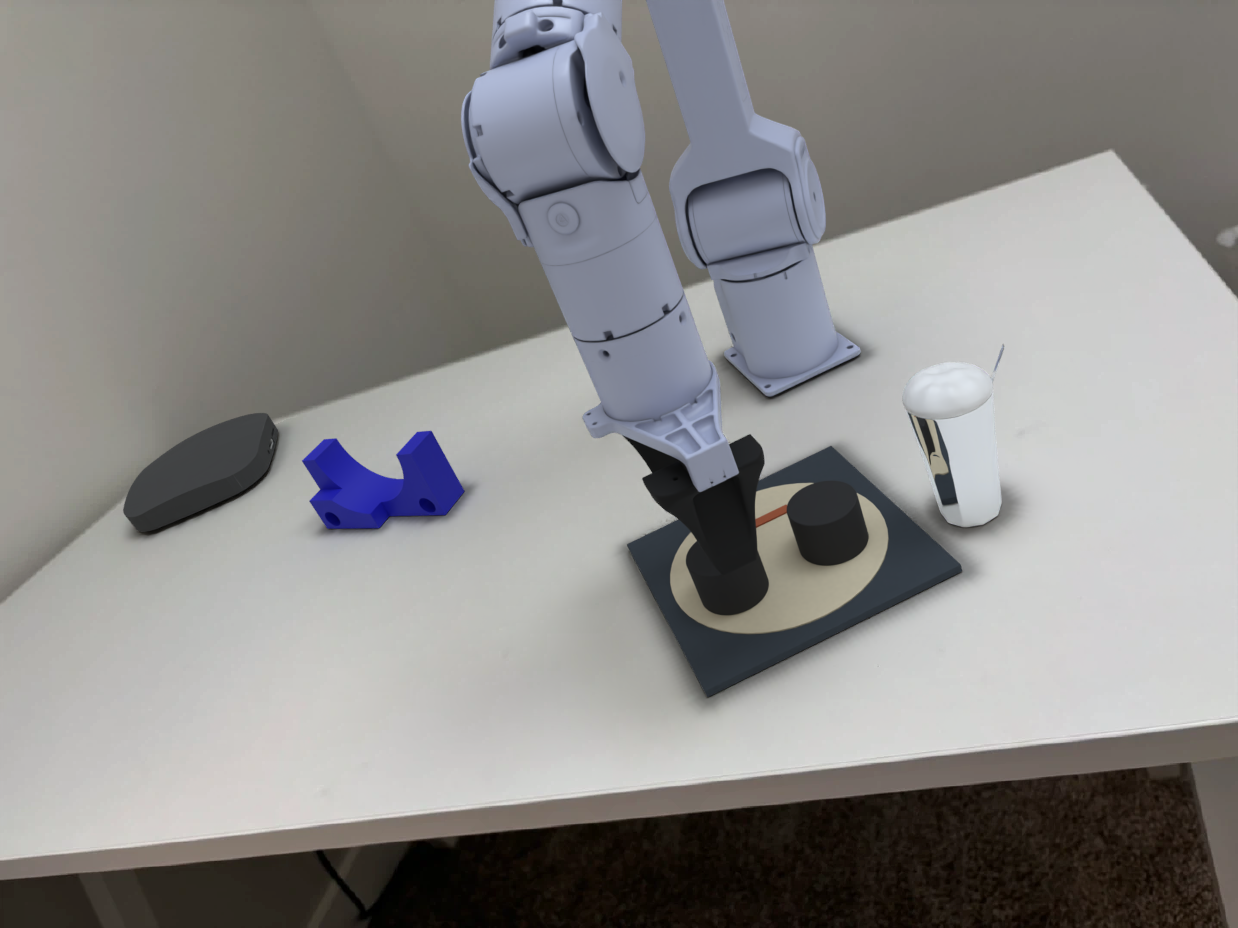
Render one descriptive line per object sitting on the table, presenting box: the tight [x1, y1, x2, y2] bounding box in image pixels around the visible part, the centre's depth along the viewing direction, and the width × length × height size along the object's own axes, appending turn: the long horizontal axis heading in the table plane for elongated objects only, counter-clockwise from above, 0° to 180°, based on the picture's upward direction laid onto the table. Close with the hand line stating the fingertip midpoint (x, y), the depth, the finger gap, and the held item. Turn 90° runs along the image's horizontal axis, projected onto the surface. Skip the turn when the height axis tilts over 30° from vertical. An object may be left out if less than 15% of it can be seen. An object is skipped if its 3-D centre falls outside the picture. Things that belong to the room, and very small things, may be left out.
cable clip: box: [301, 430, 465, 530], centre depth 77 cm, size 12×4×6 cm, turn 65°
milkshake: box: [901, 343, 1005, 528], centre depth 51 cm, size 4×5×10 cm
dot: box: [786, 480, 869, 566], centre depth 54 cm, size 4×4×3 cm
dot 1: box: [686, 541, 769, 615], centre depth 53 cm, size 4×4×3 cm
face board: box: [626, 445, 963, 698], centre depth 56 cm, size 15×15×1 cm
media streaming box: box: [122, 412, 279, 533], centre depth 97 cm, size 15×15×3 cm
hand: (712, 527), depth 52 cm, fingers open, 7 cm apart
